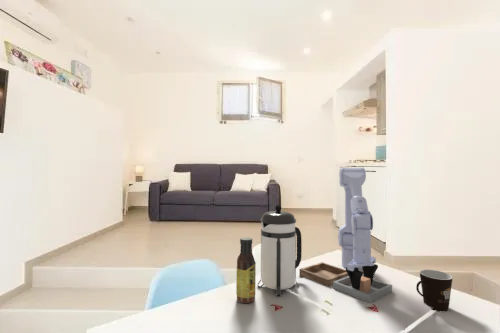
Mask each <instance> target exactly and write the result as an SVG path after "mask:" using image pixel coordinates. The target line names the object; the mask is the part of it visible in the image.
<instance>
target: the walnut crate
mask: <svg viewBox="0 0 500 333" xmlns="http://www.w3.org/2000/svg"><path fill="white" fill-rule="evenodd" d="M347 276H349V275H348V273H347V272H346V269H345V268H341V267H339V266H336V265H332V264H329V263H325V262H323V261H322V262H318V263H315V264H311V265H308V266H305V267H301V268H300V269H299V277H300V278H302V279H303V278H307V279H309V280H312V281H314V282H317V283H319V284H322V285H324V286H326V287H330V286H333V282H334V281H336V280H339V279H342V278H344V277H347Z"/></svg>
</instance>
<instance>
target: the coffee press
mask: <svg viewBox="0 0 500 333" xmlns="http://www.w3.org/2000/svg"><path fill="white" fill-rule="evenodd" d="M274 208H275V210H271V211H266V212H265V213H264V214H262V216H261V218H260V223H261V229H260V236H261V279H260V280H259V281H258V283H257V288H258V289H261V288H263V286H265V287H266V288H268V289H271V290H276V297H281V295H282V293H281V291H282V290H288V289H291V288H292V287H294V288H295V285H297V286H298V287H300V286H299V283H298V282H297V279H296V278H297V271H296V270H297V268H299V266H300V263H301V261H302V243H303V242H302V232H301V230H300V228H299V227H296V223H297V218H295V215H294V214H293V213H291V212H288V211H285V210H284V211H282V206H281V205H280V204H276V205H275V206H274ZM260 283H262V284H261V285H260Z"/></svg>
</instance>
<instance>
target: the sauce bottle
mask: <svg viewBox="0 0 500 333" xmlns="http://www.w3.org/2000/svg"><path fill="white" fill-rule="evenodd" d="M239 243H240V244H239V245H240V252H239V255H238V256H237V259H236V285H235V286H236V289H235V292H236V300H237V302H239V303H241V304H250V303H253V302H254V301H255V300H256V263H257V262H256V260H255V257H254V254H253V248H252V246H253V238H251V237H240V240H239Z"/></svg>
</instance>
